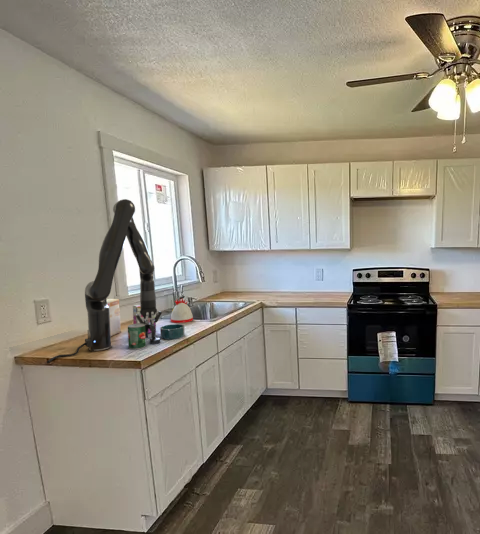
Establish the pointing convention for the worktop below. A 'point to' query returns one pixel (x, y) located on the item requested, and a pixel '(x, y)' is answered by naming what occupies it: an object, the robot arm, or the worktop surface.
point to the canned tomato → (136, 336)
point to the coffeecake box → (114, 316)
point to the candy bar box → (136, 311)
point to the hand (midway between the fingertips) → (149, 331)
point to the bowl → (172, 331)
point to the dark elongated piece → (152, 334)
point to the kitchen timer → (181, 312)
